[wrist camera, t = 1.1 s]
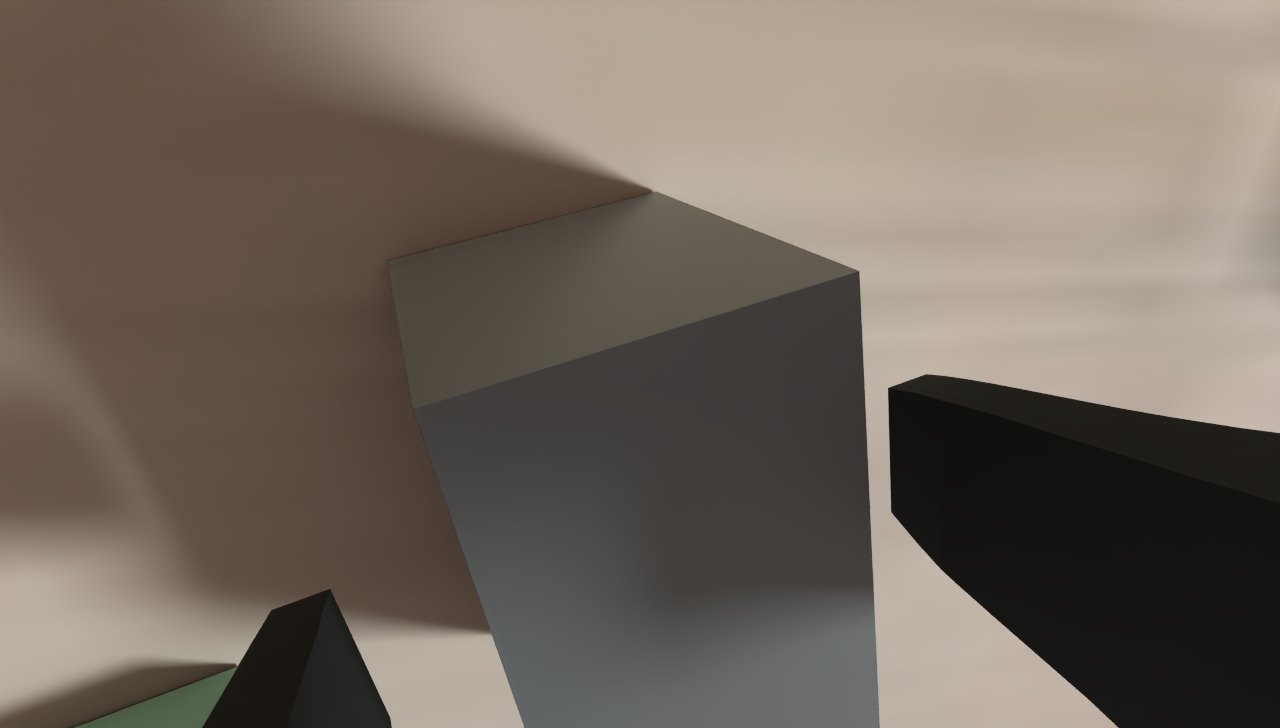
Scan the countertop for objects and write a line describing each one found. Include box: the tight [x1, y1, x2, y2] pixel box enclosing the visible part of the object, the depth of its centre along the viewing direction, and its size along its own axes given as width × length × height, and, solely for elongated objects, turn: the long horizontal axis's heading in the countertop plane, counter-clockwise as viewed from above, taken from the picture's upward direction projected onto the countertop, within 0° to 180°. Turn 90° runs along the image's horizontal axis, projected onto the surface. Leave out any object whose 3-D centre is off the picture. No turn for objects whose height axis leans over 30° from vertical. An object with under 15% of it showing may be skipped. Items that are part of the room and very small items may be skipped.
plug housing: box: [387, 192, 880, 728], centre depth 10 cm, size 7×4×5 cm, turn 11°
